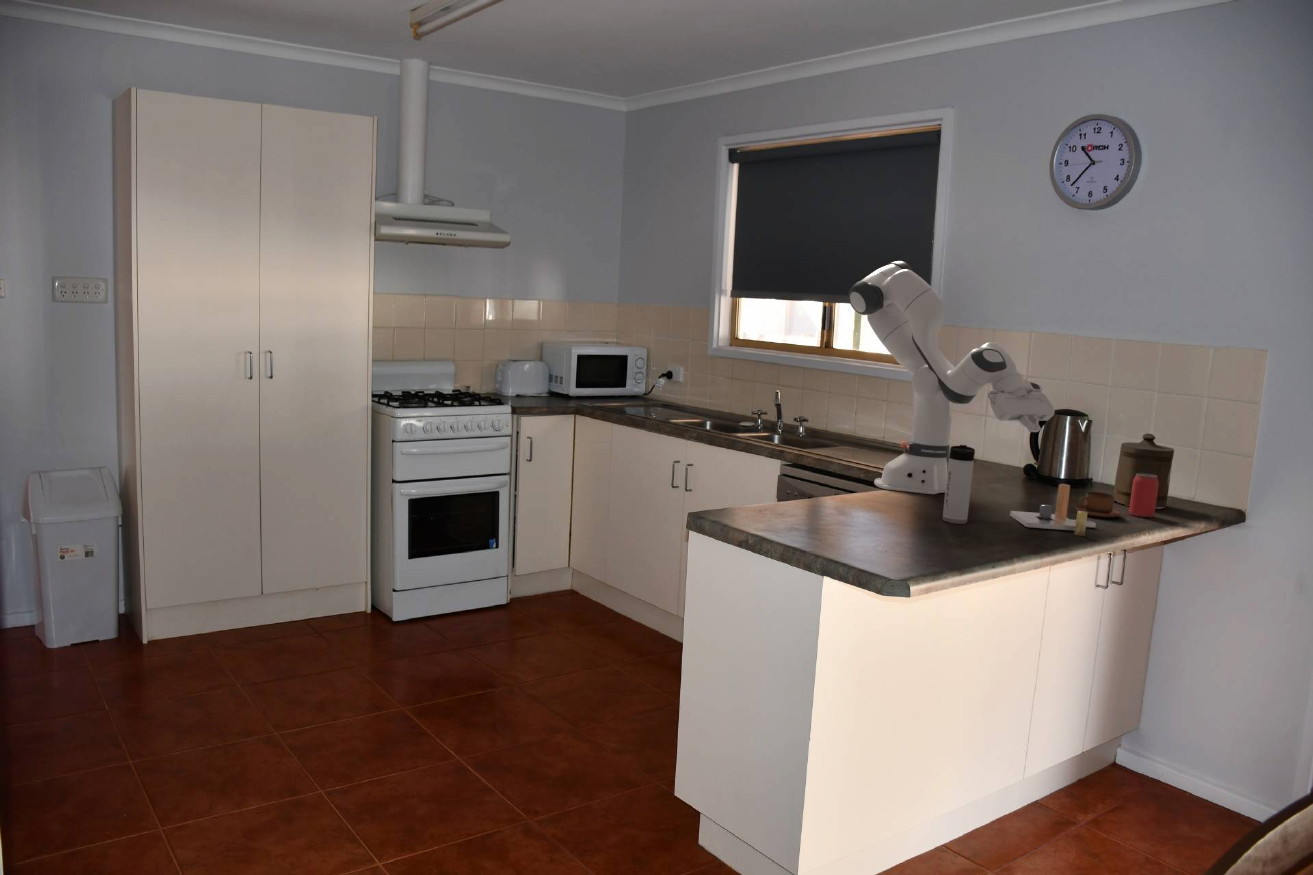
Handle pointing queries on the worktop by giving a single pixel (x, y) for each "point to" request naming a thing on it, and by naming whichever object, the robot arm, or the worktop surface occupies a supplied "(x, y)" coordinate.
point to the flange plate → (1057, 519)
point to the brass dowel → (1081, 523)
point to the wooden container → (1143, 468)
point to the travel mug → (958, 484)
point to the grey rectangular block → (1045, 512)
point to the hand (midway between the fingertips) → (1035, 430)
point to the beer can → (1144, 495)
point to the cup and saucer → (1098, 505)
